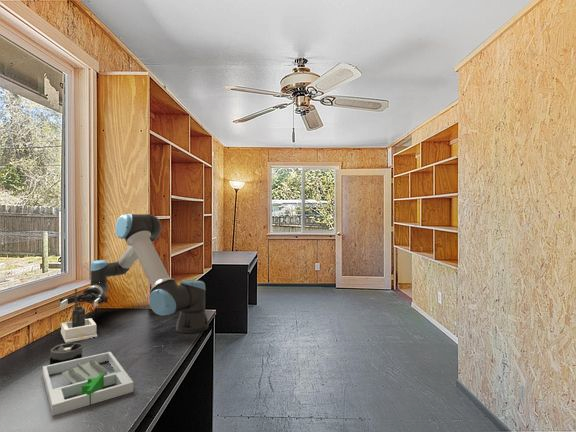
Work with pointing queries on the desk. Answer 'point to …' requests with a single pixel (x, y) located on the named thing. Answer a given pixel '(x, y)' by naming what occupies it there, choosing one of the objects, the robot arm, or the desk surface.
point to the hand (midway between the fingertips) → (78, 304)
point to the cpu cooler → (65, 352)
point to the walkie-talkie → (78, 314)
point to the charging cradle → (78, 331)
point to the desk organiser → (58, 394)
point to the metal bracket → (85, 372)
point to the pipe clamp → (93, 385)
